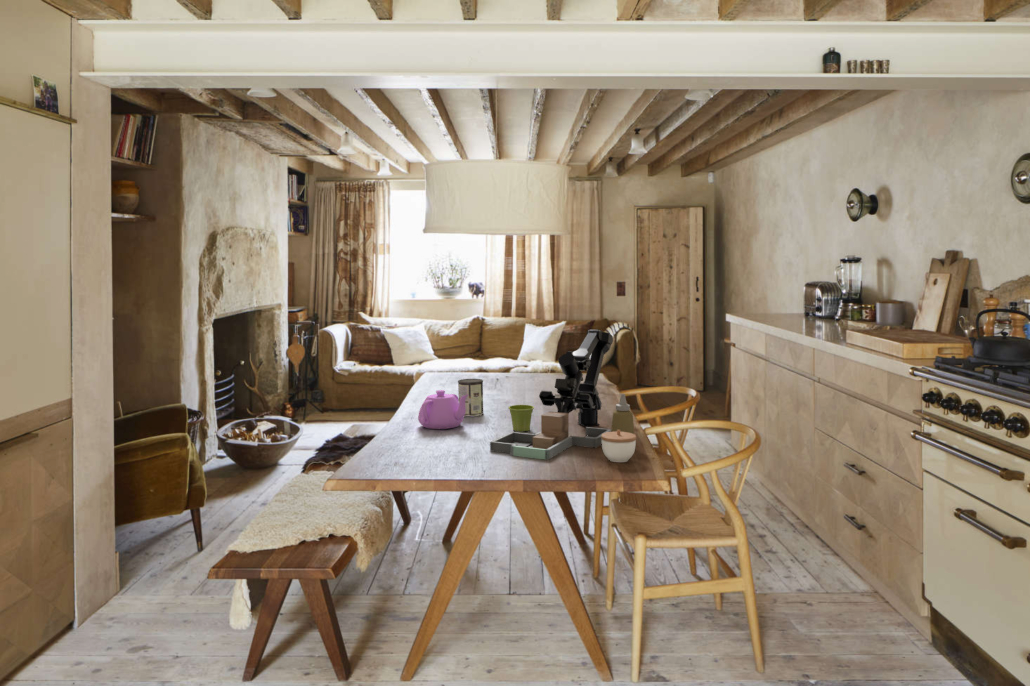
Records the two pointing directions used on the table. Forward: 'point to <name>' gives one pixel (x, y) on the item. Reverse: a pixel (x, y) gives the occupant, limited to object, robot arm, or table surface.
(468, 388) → the coffee can
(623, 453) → the lidded jar
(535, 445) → the walnut block
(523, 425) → the plant pot
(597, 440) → the bent walled tray
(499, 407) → the table surface
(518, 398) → the table surface
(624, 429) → the squeeze bottle
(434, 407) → the teapot
